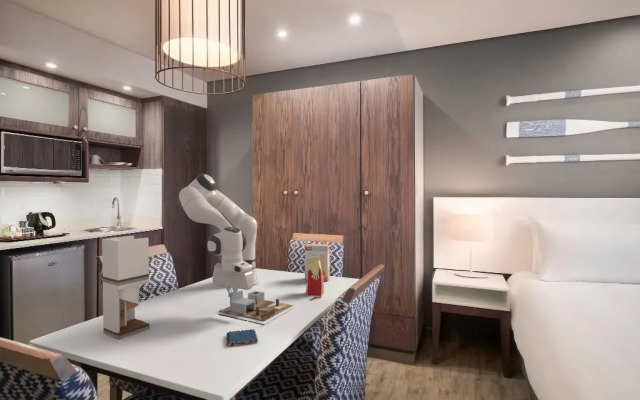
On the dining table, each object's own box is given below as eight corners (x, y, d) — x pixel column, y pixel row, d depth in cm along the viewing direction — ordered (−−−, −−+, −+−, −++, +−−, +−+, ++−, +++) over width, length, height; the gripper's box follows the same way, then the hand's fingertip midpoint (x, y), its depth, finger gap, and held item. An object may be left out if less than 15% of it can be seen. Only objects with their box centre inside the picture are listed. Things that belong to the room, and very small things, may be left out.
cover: (230, 311, 147) (229, 294, 147) (241, 306, 154) (241, 290, 153) (244, 314, 144) (244, 297, 143) (255, 309, 150) (255, 293, 150)
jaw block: (247, 302, 160) (247, 293, 160) (255, 299, 165) (255, 290, 165) (257, 304, 158) (257, 295, 158) (264, 300, 163) (264, 292, 163)
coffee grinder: (118, 339, 124) (117, 241, 123) (103, 332, 129) (102, 238, 128) (149, 328, 133) (148, 237, 132) (133, 323, 139) (132, 235, 138)
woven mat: (258, 345, 121) (258, 339, 121) (226, 348, 118) (226, 342, 118) (255, 333, 131) (255, 327, 131) (226, 336, 128) (226, 330, 128)
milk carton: (324, 292, 182) (324, 254, 182) (322, 297, 173) (322, 257, 172) (306, 291, 183) (306, 253, 182) (304, 297, 174) (304, 257, 173)
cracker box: (329, 279, 209) (330, 244, 209) (327, 281, 203) (327, 245, 203) (307, 277, 212) (307, 243, 212) (304, 280, 207) (304, 244, 206)
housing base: (218, 314, 149) (218, 304, 148) (251, 300, 168) (251, 291, 168) (263, 325, 137) (263, 313, 137) (293, 308, 157) (293, 298, 157)
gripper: (209, 263, 153) (209, 295, 153) (245, 269, 143) (245, 302, 143) (219, 261, 158) (219, 291, 159) (255, 266, 148) (255, 298, 149)
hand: (232, 296), depth 151 cm, fingers closed
